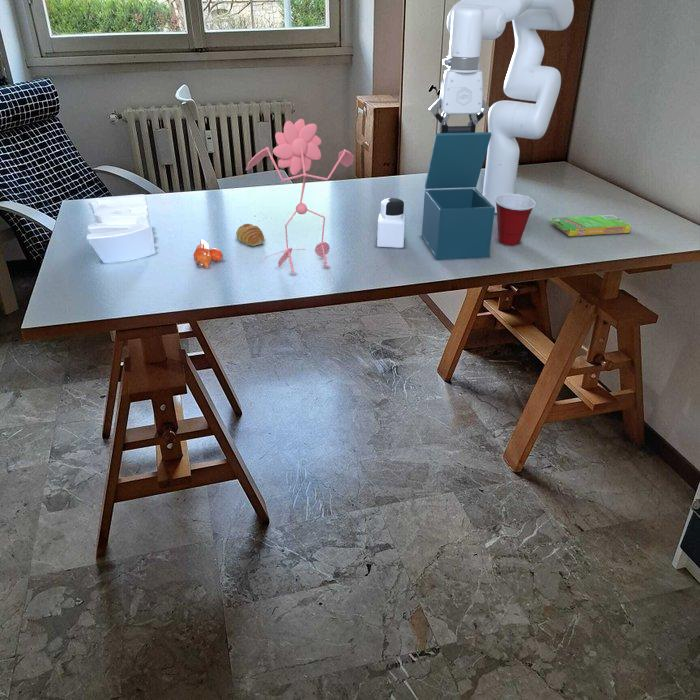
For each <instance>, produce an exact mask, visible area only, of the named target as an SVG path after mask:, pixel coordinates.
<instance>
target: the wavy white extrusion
mask: <svg viewBox="0 0 700 700" xmlns="http://www.w3.org/2000/svg"><path fill="white" fill-rule="evenodd" d="M87 202H88V204H89V207H90V209H91V212H92V214H93V217H94V219H95V221H96V223H89V224H88V225H87V230H88V232H89V233H87V234H86V240H87V241H88V242H89V244H90V246H91V247H92V249H93V250H94V251H95V253H96V254H97V256H98V257H99V258H100V260H101V261H102V263H103V264H112V263H113V264H114V263H122V262H123V263H125V262H129V261H135V260H139V259H143V258H146V257H150V256H152V255H154V254H156V253H157V252H156V247H155V244H154V243H155V241H154V239H155V238H154V232H153V227H152V221H151V216H150V211H149V206H148V201H147V196H146V195H145V194H144V193H143V194H142V193H141V194H140V193H139V194H129V195H128V194H127V195H117V196H114V195H113V196H104V197H103V196H102V197H96V198H89V199H88V200H87Z"/></svg>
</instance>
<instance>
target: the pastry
mask: <svg viewBox="0 0 700 700" xmlns="http://www.w3.org/2000/svg"><path fill="white" fill-rule="evenodd" d="M235 235H236V238H237V240H238V241H239V242H240V243H242V244H243V245H246V246H251V247H256V246H258V245H262V244H264V242H265V235H264V234H263V231H262V230H261V228H260V227H259V226H257V225H254V224H253V223H244V224H242V225H240V226H239V227H238V228H237V230H236V232H235Z"/></svg>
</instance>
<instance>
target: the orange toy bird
mask: <svg viewBox="0 0 700 700" xmlns="http://www.w3.org/2000/svg"><path fill="white" fill-rule="evenodd" d="M222 259H223V252H222V250H220V249H218V248H215V247H213V248H209V243H208V242H207V241H206V240H205V239H200V241H199V244H198V245H197V246H196V247H195V250H194V252H193V261H194V262H195V263H196V264H198V265H199V267H201V268H206V269H209V267H210V264H211V262H214V263H218V262H220V261H222Z"/></svg>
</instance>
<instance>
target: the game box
mask: <svg viewBox="0 0 700 700" xmlns="http://www.w3.org/2000/svg"><path fill="white" fill-rule="evenodd" d="M549 220H550V222H552V223H553V226H554V227H556V228H557V229H559V230H560V231H561V232H562V233H564V234H565V235H566V236H568V237H577V236H580V237H581V236H597V235H614V234H615V235H616V234H630V231H631V227H632V225H631V224H629V223H628V222H626V221H624V220H623V219H621V218H619V217H617V216H616V215H614V214H603V215H602V214H599V215H585V216H584V215H583V216H566V217H565V216H562V217H551V218H549Z"/></svg>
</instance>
